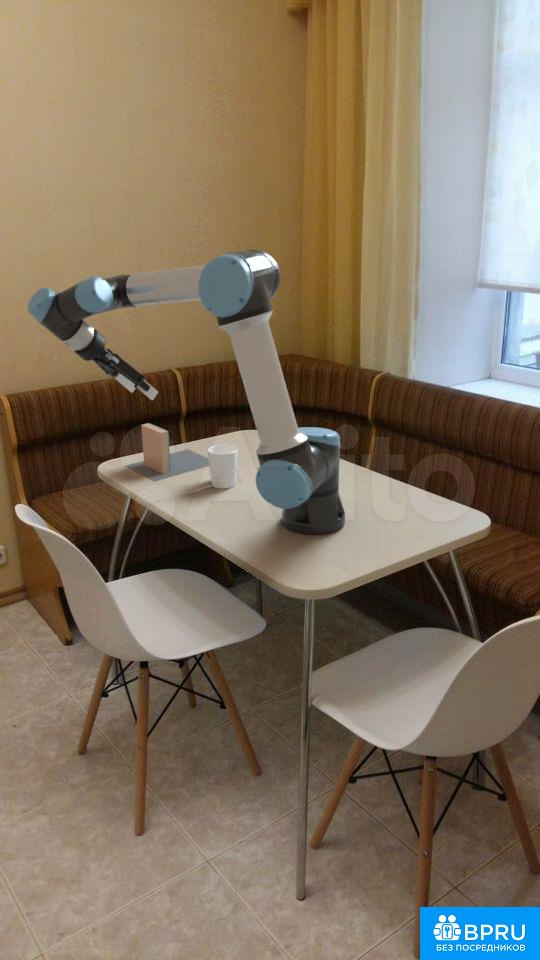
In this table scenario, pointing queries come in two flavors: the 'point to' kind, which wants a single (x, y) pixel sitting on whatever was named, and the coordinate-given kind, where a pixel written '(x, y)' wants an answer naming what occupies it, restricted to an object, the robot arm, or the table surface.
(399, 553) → the table surface
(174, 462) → the mat
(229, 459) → the white cup
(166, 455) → the tile
